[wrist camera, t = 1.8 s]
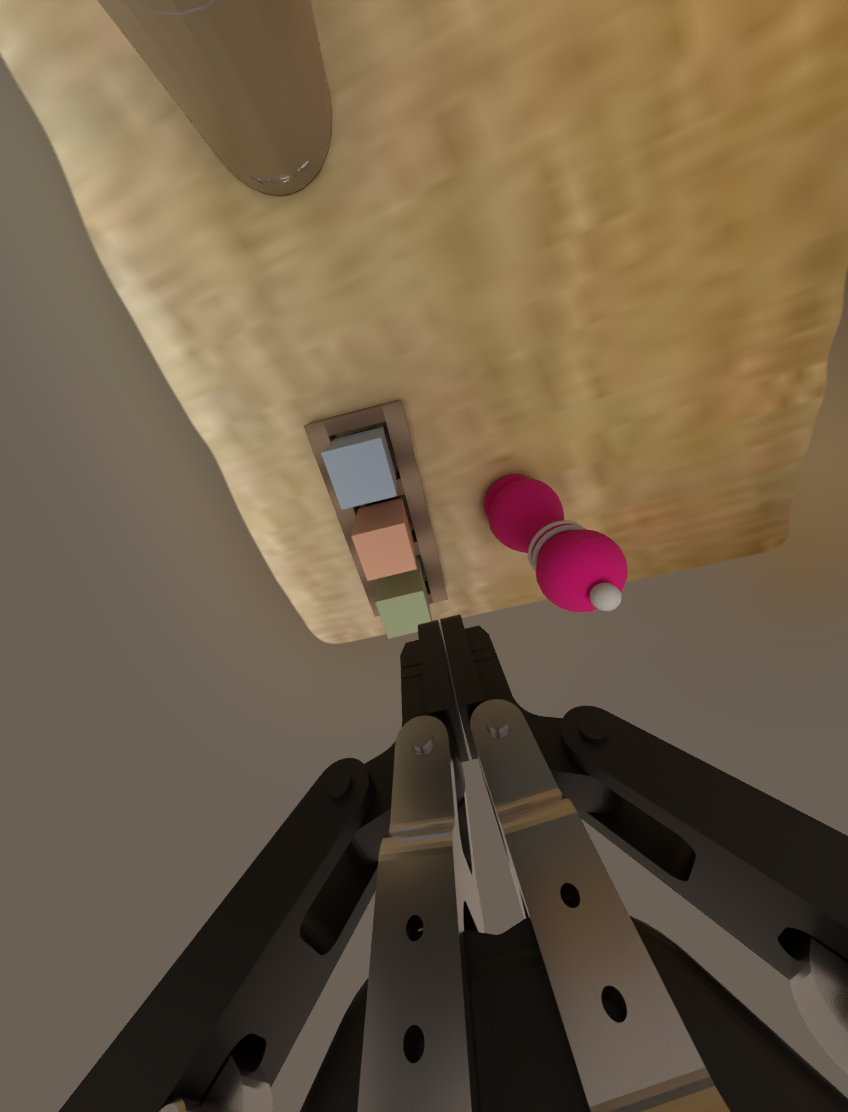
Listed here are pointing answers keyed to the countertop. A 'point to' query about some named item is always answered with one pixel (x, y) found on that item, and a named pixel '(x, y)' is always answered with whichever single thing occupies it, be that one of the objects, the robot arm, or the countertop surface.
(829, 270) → the countertop surface
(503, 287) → the countertop surface
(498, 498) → the pepper mill
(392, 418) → the walnut board
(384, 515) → the terracotta block
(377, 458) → the slate block
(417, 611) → the olive block
